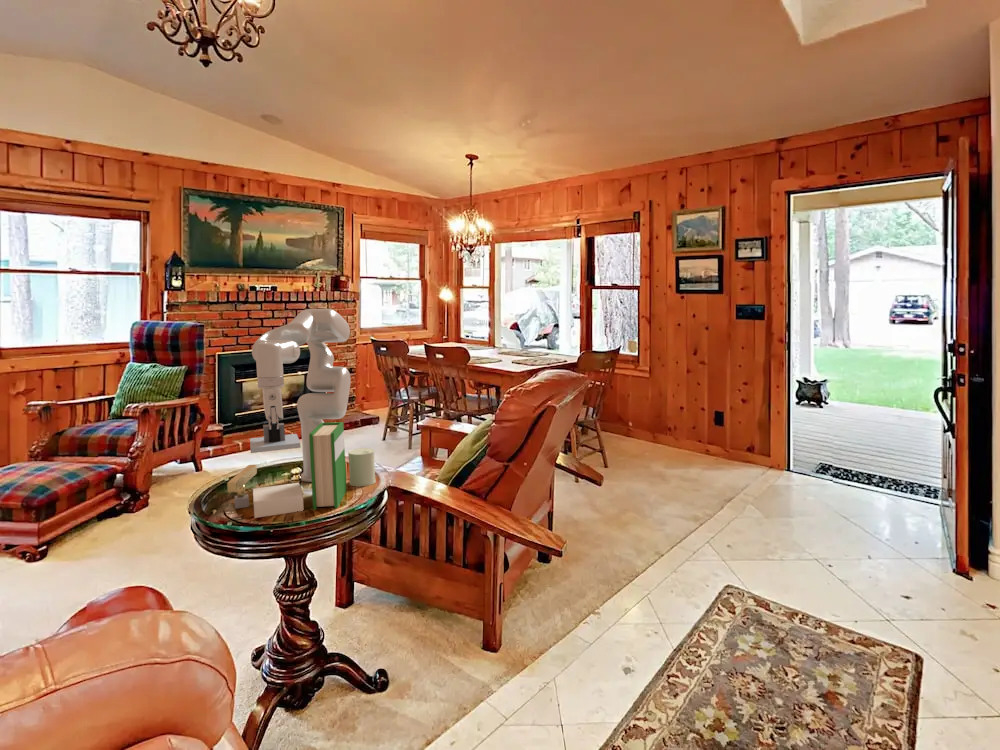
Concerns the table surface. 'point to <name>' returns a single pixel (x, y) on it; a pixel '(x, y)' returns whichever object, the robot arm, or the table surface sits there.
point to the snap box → (274, 500)
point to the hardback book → (328, 464)
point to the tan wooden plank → (241, 480)
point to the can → (361, 467)
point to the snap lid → (264, 444)
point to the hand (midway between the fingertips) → (274, 439)
